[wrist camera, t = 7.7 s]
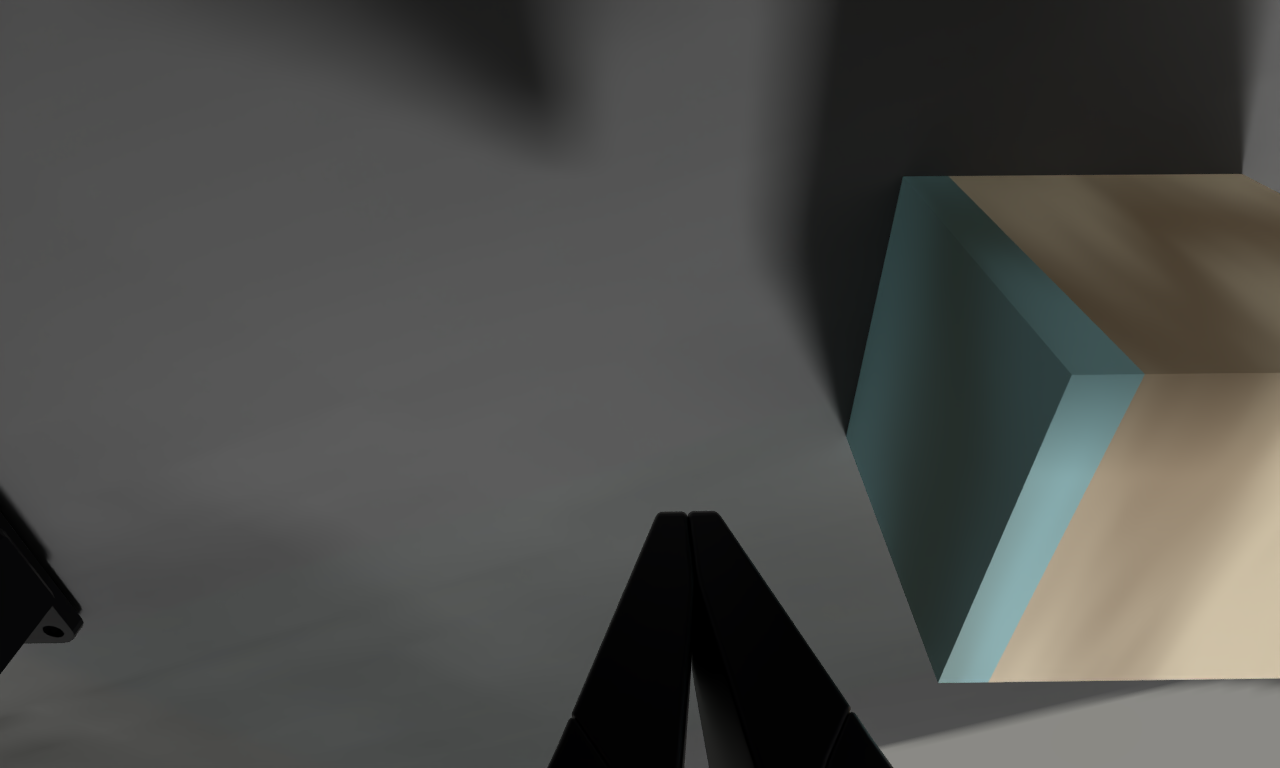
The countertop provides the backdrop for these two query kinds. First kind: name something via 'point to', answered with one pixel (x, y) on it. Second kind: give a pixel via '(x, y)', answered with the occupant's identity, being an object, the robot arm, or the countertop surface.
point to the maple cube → (1080, 424)
